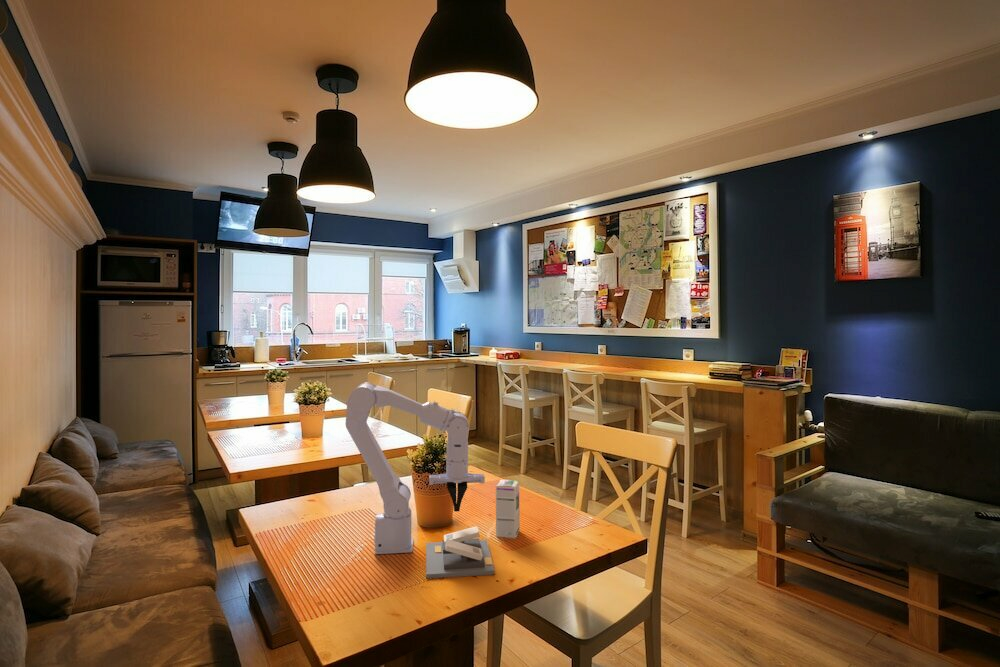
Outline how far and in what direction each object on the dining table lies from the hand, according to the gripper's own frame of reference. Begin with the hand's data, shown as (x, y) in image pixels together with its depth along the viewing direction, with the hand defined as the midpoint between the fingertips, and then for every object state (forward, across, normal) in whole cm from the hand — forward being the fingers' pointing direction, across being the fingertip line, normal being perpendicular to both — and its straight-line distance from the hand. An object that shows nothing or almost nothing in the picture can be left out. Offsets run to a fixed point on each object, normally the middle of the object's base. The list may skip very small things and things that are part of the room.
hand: (456, 510), depth 139 cm
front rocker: (+5, +1, -13) cm, 14 cm away
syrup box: (+10, +14, +6) cm, 18 cm away
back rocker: (+5, +1, -5) cm, 7 cm away
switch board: (+9, 0, -9) cm, 13 cm away
